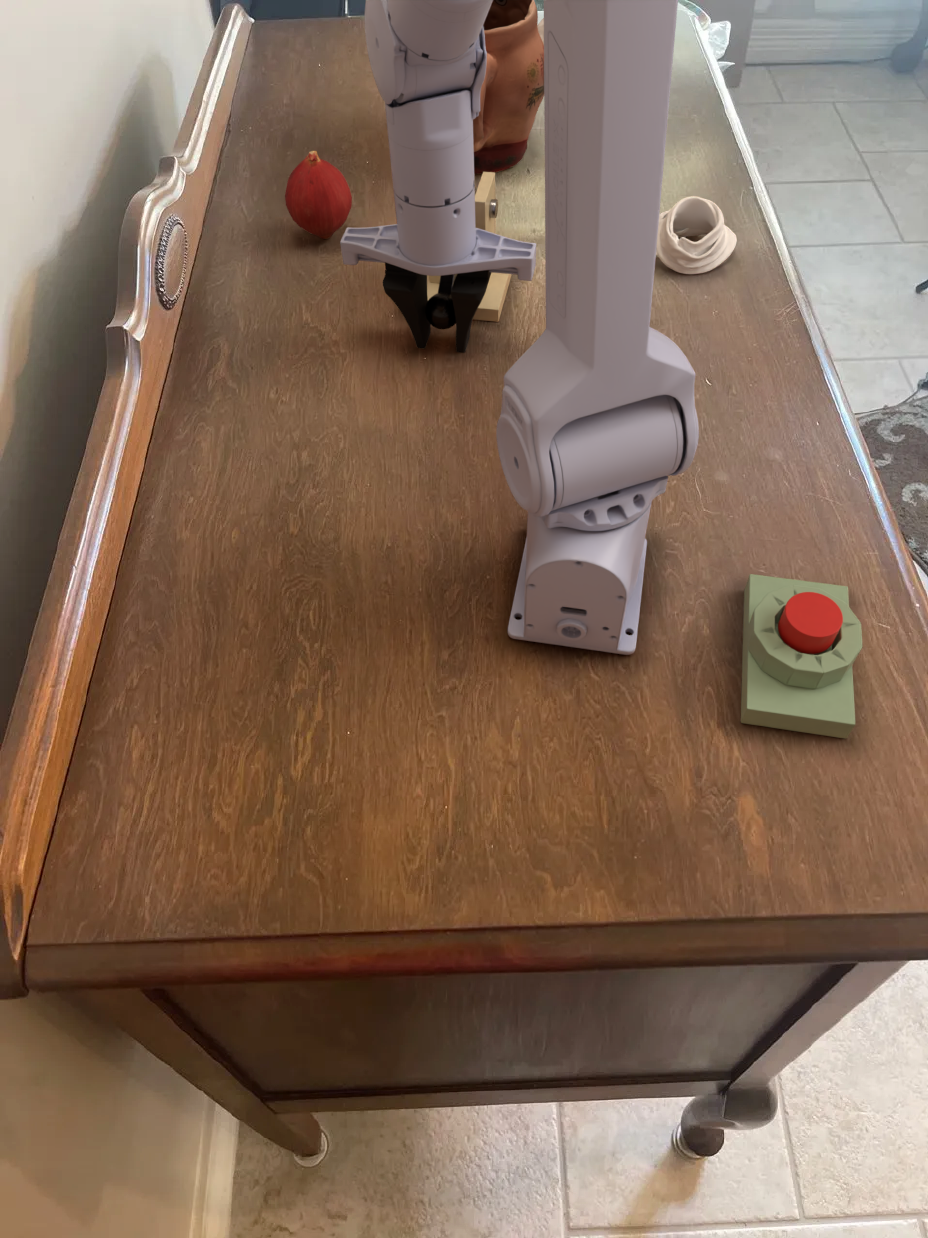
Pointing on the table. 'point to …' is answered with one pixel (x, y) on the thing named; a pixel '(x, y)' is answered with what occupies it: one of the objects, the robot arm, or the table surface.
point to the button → (810, 622)
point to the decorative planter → (508, 85)
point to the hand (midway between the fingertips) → (443, 344)
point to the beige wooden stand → (498, 281)
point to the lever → (442, 304)
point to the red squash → (318, 196)
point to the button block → (796, 663)
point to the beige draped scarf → (691, 221)
